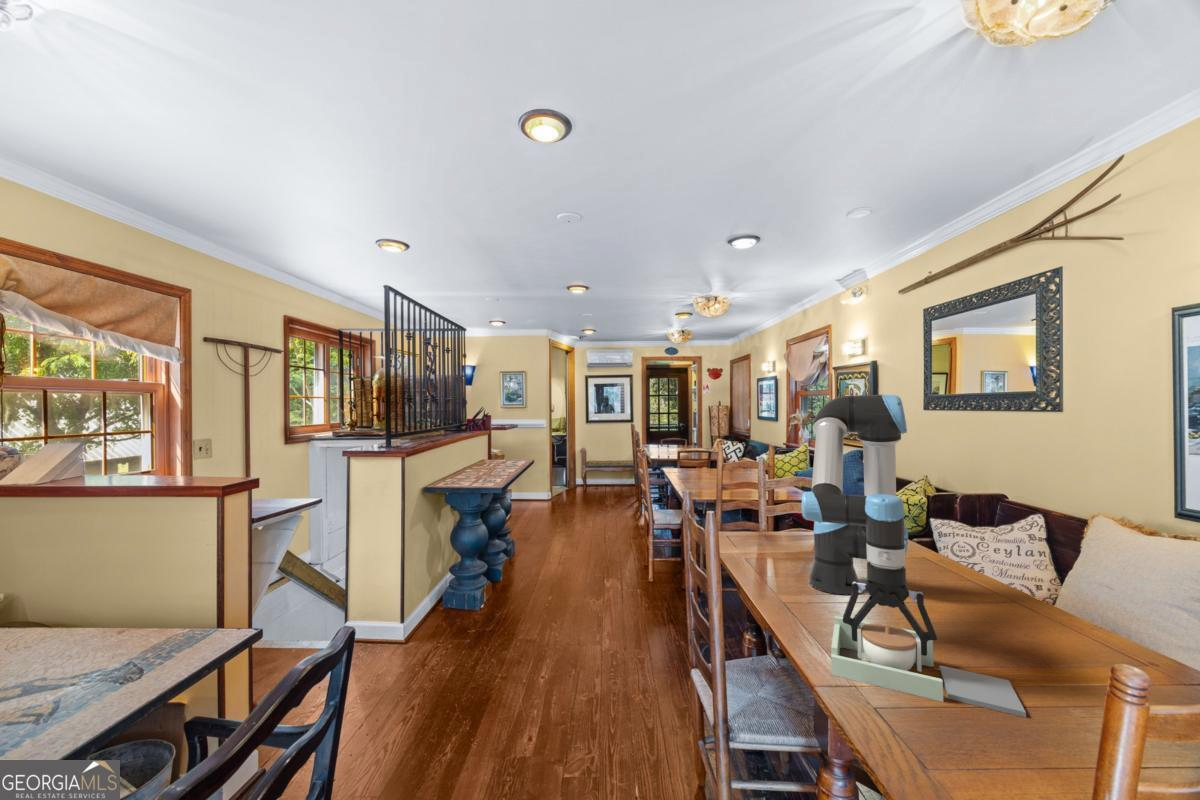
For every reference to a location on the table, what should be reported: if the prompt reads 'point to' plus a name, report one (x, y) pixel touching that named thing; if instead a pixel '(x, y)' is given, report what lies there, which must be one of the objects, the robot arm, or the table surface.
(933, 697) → the frame
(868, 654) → the lidded jar
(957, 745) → the table surface
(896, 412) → the robot arm
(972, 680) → the slate tile
